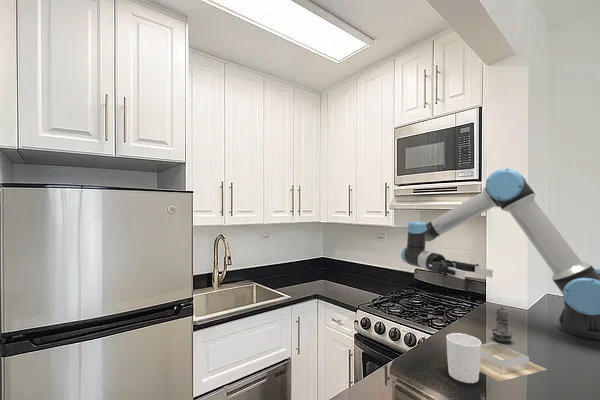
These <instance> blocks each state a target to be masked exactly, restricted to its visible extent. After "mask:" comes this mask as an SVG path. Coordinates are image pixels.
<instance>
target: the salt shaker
mask: <svg viewBox="0 0 600 400" xmlns="http://www.w3.org/2000/svg"><path fill="white" fill-rule="evenodd" d="M495 321H496V327H495V328H492V329H491V332H492V336H493V338H495V339H496V340H497V341H498V342H500V343H507V342H510V341H511V340H512V337H513V336H514V334H513V332H511V331H510V330H509V328H508V327H509V326H508V325H509V324H508V323H509V322H510V321H509V320H508V311H507V309H505V308H504V306H500V308H498V309H497V310H496V318H495Z"/></svg>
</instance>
